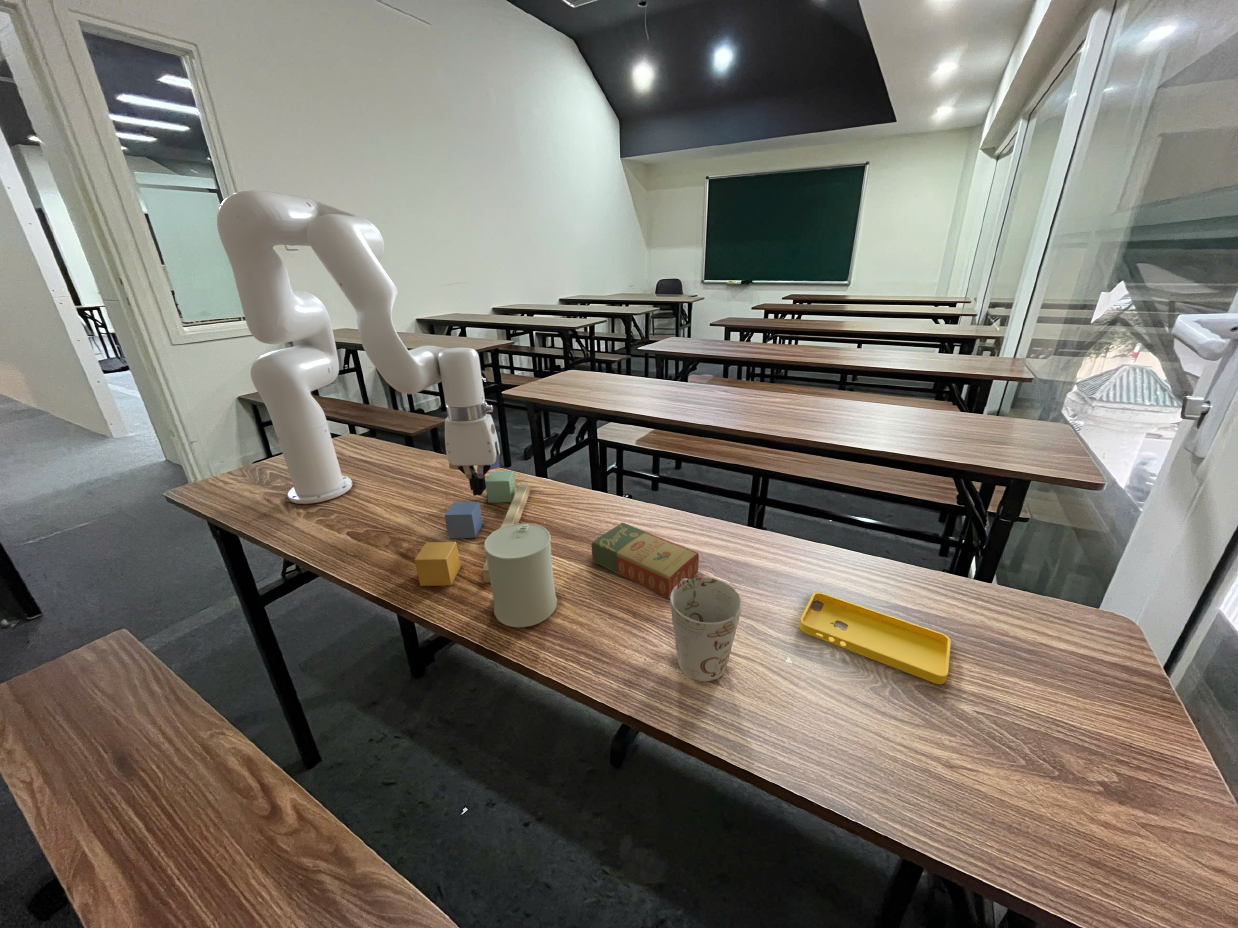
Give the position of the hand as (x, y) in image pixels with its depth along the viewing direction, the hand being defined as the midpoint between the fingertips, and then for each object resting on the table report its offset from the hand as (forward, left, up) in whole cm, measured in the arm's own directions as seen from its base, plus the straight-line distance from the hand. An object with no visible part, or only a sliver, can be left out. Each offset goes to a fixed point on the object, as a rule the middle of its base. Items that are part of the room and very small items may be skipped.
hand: (479, 492), depth 103 cm
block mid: (+13, -5, -1) cm, 14 cm away
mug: (+58, +16, -1) cm, 60 cm away
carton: (+39, +19, -1) cm, 44 cm away
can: (+39, -1, -1) cm, 39 cm away
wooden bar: (+17, +2, -1) cm, 17 cm away
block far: (+2, +4, -1) cm, 5 cm away
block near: (+26, -11, -1) cm, 28 cm away
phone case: (+67, +38, -1) cm, 77 cm away
